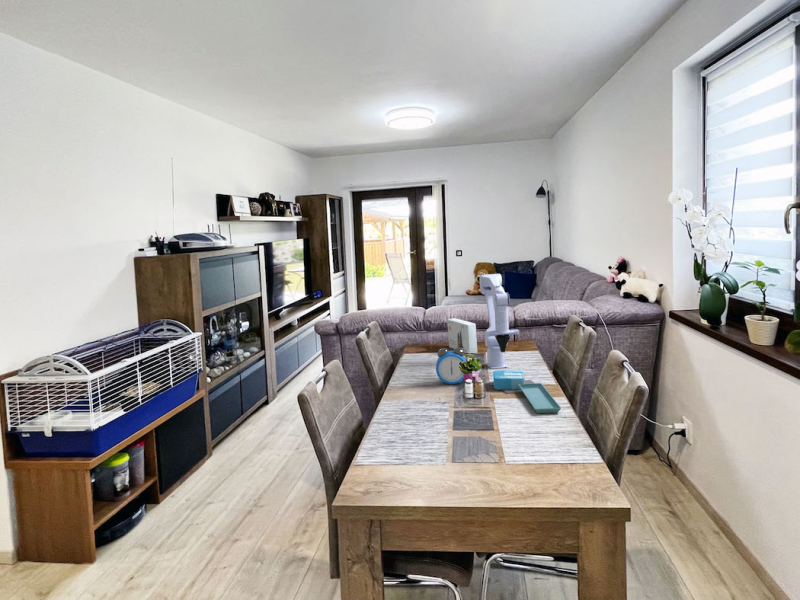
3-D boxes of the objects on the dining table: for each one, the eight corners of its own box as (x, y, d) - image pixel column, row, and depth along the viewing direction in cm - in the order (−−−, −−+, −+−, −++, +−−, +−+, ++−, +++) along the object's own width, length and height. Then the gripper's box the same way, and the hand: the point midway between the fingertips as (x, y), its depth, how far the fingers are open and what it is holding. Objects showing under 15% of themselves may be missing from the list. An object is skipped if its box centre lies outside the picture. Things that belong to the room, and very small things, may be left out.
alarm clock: (436, 385, 218) (435, 350, 216) (436, 380, 224) (435, 346, 222) (468, 384, 216) (466, 349, 214) (467, 380, 222) (466, 345, 220)
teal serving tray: (561, 413, 178) (561, 406, 178) (535, 414, 178) (535, 407, 178) (541, 388, 204) (541, 382, 204) (518, 390, 204) (518, 384, 204)
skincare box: (448, 347, 284) (446, 318, 282) (456, 346, 287) (455, 317, 284) (468, 355, 265) (467, 324, 263) (477, 353, 268) (476, 323, 265)
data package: (522, 370, 216) (524, 378, 204) (522, 380, 216) (525, 389, 204) (493, 370, 217) (493, 378, 206) (493, 380, 218) (494, 389, 206)
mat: (495, 384, 215) (495, 383, 215) (530, 380, 217) (530, 379, 217) (506, 393, 202) (506, 392, 202) (543, 390, 204) (543, 389, 204)
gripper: (488, 323, 219) (489, 355, 220) (521, 321, 221) (522, 352, 222) (483, 321, 226) (484, 351, 227) (515, 318, 228) (516, 349, 229)
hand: (502, 351), depth 225 cm, fingers closed
